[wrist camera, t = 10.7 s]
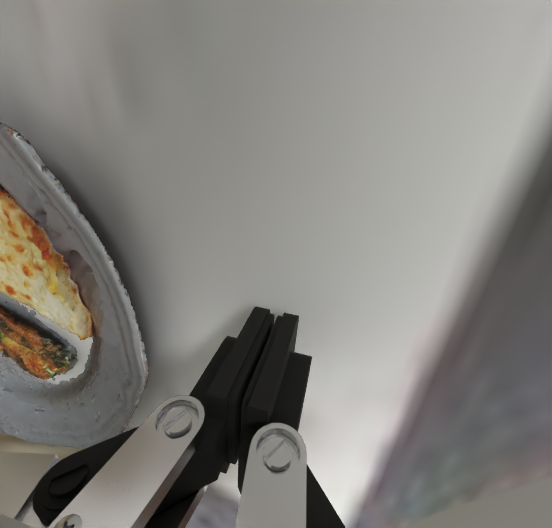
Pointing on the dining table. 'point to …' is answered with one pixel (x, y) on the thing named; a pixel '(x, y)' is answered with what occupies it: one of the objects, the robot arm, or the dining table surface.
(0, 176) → the food plate
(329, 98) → the dining table surface
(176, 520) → the robot arm
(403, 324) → the dining table surface
